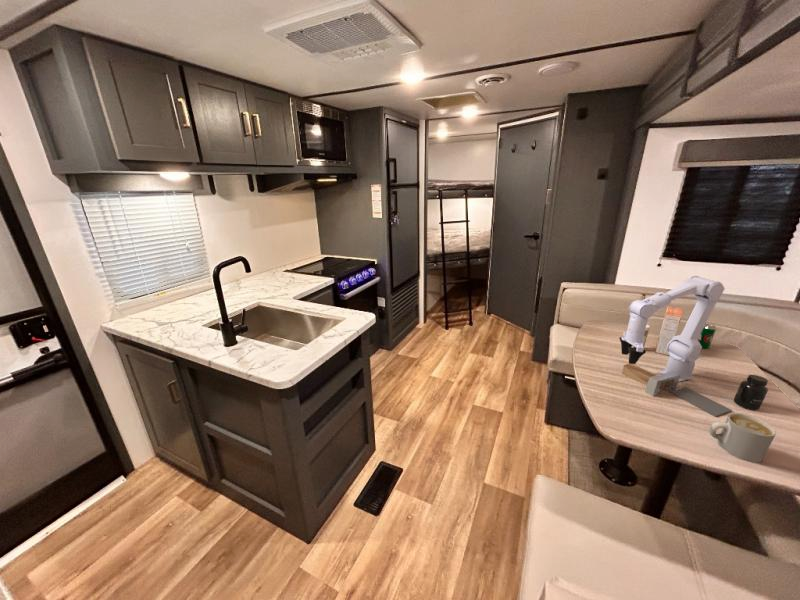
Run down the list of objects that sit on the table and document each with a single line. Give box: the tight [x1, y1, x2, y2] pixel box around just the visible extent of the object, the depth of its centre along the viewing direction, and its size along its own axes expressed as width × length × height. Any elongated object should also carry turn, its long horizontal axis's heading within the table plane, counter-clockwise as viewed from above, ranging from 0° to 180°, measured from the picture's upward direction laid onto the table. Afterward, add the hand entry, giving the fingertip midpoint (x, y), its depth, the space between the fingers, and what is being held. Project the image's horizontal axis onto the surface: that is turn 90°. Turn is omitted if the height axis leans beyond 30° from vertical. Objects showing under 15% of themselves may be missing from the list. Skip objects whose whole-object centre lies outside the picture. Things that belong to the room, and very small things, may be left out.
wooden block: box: [621, 363, 665, 391], centre depth 132 cm, size 4×14×5 cm, turn 23°
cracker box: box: [654, 305, 683, 357], centre depth 154 cm, size 14×6×21 cm, turn 138°
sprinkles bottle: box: [632, 324, 651, 348], centre depth 155 cm, size 5×5×13 cm
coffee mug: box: [708, 412, 777, 463], centre depth 97 cm, size 13×10×10 cm
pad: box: [669, 386, 733, 417], centre depth 119 cm, size 9×15×1 cm, turn 18°
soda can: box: [698, 323, 717, 350], centre depth 157 cm, size 5×5×12 cm
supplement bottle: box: [733, 374, 769, 411], centre depth 115 cm, size 7×7×12 cm
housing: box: [644, 371, 680, 397], centre depth 125 cm, size 13×3×7 cm, turn 108°
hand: (628, 358), depth 130 cm, fingers open, 7 cm apart
